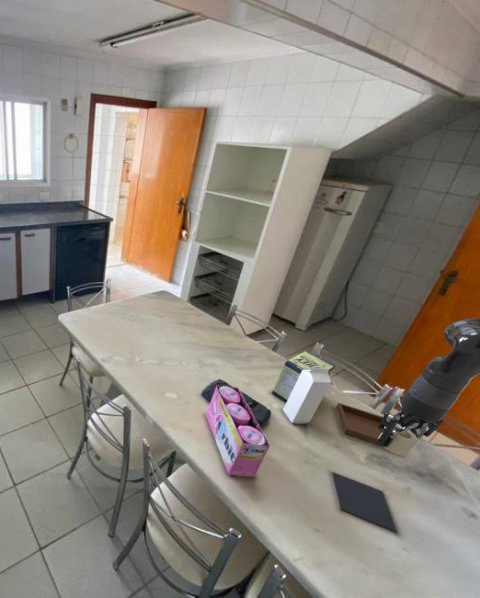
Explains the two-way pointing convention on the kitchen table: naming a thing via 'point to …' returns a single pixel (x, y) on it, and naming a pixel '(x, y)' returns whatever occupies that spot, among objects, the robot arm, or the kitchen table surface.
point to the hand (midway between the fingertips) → (393, 444)
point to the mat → (363, 501)
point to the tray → (359, 423)
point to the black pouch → (259, 411)
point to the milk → (307, 395)
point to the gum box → (236, 432)
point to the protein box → (297, 372)
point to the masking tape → (402, 442)
